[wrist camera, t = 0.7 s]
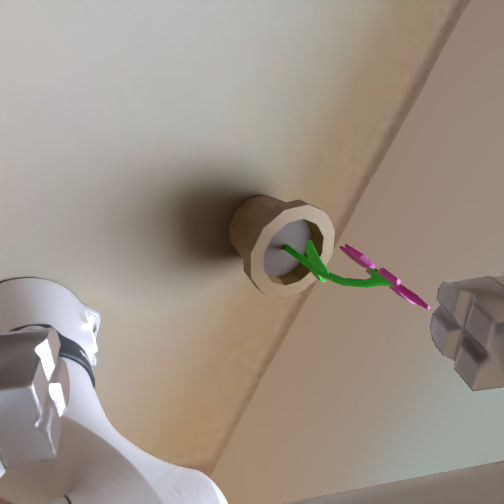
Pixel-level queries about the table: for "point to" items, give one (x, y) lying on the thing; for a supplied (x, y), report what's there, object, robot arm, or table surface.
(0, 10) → the table surface
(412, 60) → the table surface
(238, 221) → the flowerpot
